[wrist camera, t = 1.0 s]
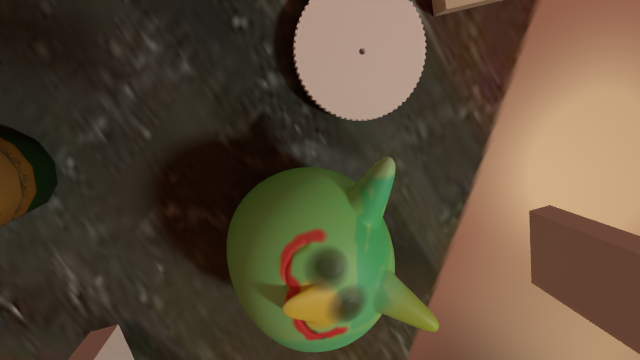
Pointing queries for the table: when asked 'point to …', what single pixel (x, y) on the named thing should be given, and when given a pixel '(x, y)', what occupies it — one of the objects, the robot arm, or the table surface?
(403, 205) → the table surface
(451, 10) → the block
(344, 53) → the plastic lid
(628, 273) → the robot arm
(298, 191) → the toy bird
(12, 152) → the bottle
